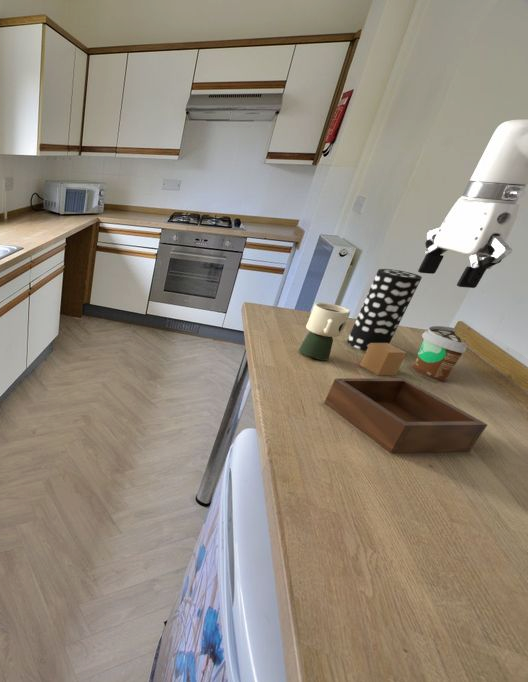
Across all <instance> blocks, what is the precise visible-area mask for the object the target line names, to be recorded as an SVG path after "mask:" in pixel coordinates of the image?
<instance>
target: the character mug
mask: <svg viewBox="0 0 528 682" xmlns="http://www.w3.org/2000/svg"><path fill="white" fill-rule="evenodd" d="M350 314H351V310H350V309H348V308H347V307H344V306H341V305H338V304H334V303H330V302H316V303H314V304H313V308H312V310H311V312H310V315H309V318H308V320H307V323H306V326H305V329H306V330H307V331H309V332H308V333H307V334H306V336H305V338H304V340H303V341H302V343H301V344H300V347H299V349H298V351H299V353H301V354H302V355H305V356H307V357H310V358H312V359H318V360H322V361H327V360H329V358H330V355H331V351H332V347H333V342H334V339H333V337H335V338H337V337H339V336H341V335H342V333H343V331H344V329H345V326H346V325H347V321H348V319H349V317H350Z"/></svg>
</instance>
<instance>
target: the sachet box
mask: <svg viewBox="0 0 528 682" xmlns="http://www.w3.org/2000/svg"><path fill="white" fill-rule="evenodd" d="M407 354H408V352H407V351H405V350H403V349H401V348H399V347H396V346H395V345H392V344H391V343H390V344H388V343H370V344H369V347H368V349H367V351H365V353H364V355H363V357H362V360H361V362H360V364H359V366H361V367H362V368H364V369H366V370H368V371H369V372H371V373H373V374H374V375H376V376H396V375H397V372H398V371H399V369H400V367H401V365H402V364H403V361H404V359H405V357H406V356H407Z"/></svg>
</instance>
